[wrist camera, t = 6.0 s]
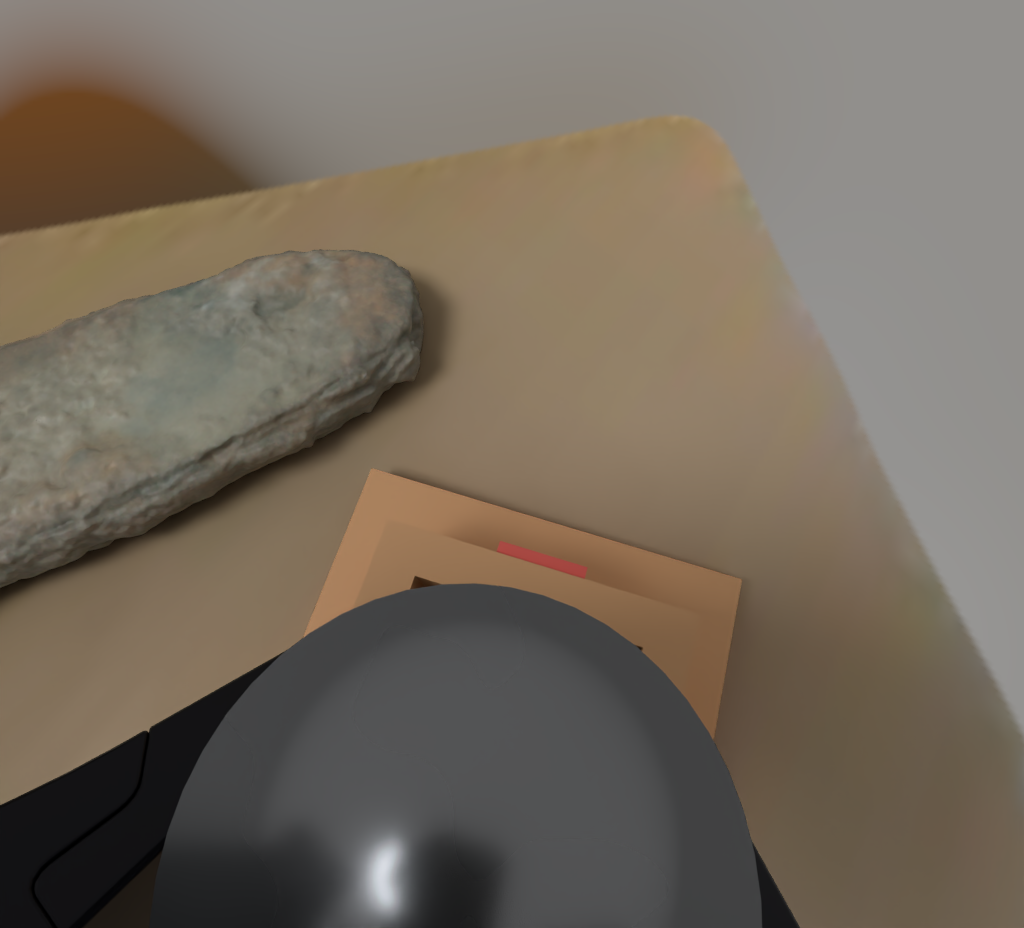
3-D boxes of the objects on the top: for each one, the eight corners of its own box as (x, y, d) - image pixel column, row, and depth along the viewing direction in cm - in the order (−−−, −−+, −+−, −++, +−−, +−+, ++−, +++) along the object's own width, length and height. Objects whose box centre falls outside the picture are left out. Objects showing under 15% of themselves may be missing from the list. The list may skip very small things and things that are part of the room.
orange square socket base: (646, 1035, 17) (710, 1195, 12) (218, 877, 18) (102, 959, 13) (729, 584, 21) (803, 554, 16) (378, 478, 22) (340, 418, 17)
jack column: (558, 872, 14) (759, 1591, 3) (365, 804, 14) (-80, 1221, 3) (608, 664, 16) (863, 637, 5) (432, 608, 16) (275, 460, 5)
